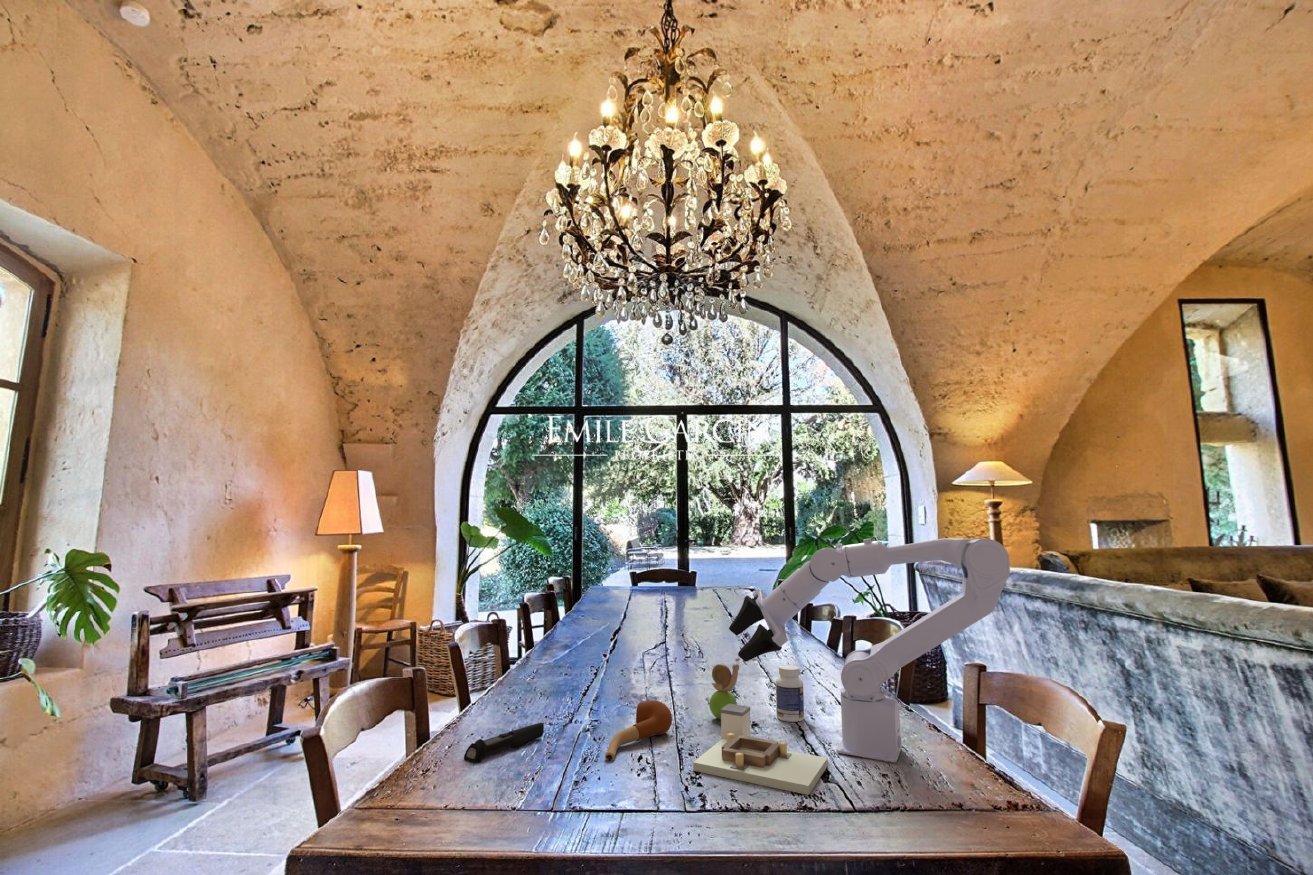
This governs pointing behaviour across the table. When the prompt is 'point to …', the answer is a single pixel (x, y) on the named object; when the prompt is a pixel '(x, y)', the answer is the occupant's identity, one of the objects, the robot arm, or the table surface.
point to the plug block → (735, 720)
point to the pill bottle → (789, 694)
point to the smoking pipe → (643, 725)
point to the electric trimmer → (503, 742)
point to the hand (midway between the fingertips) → (736, 644)
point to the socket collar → (748, 757)
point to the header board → (766, 768)
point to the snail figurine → (723, 687)
